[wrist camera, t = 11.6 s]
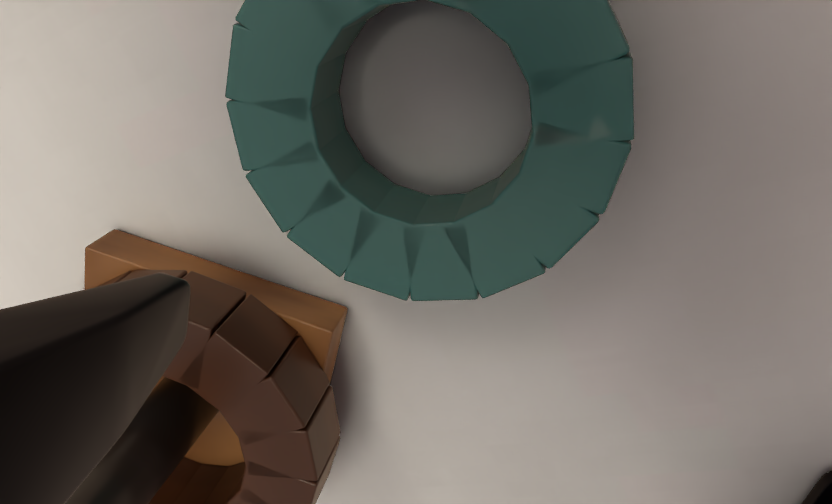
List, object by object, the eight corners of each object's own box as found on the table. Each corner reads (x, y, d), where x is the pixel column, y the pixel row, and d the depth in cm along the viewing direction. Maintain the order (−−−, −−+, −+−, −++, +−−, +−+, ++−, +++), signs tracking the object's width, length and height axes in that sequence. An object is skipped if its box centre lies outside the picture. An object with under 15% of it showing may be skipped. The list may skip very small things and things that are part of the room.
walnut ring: (372, 338, 20) (349, 382, 18) (305, 551, 24) (280, 605, 22) (71, 224, 20) (16, 254, 18) (59, 452, 25) (14, 496, 23)
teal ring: (693, -44, 15) (710, -41, 13) (552, 307, 20) (548, 349, 18) (293, -155, 16) (253, -167, 14) (243, 206, 20) (208, 235, 18)
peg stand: (348, 306, 21) (241, 477, 14) (306, 486, 25) (205, 688, 18) (114, 227, 22) (-90, 356, 15) (107, 414, 25) (-60, 583, 19)
